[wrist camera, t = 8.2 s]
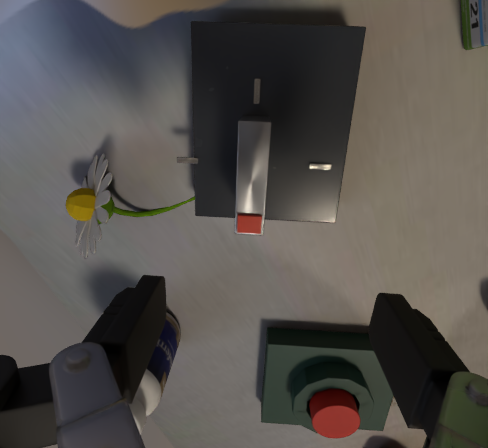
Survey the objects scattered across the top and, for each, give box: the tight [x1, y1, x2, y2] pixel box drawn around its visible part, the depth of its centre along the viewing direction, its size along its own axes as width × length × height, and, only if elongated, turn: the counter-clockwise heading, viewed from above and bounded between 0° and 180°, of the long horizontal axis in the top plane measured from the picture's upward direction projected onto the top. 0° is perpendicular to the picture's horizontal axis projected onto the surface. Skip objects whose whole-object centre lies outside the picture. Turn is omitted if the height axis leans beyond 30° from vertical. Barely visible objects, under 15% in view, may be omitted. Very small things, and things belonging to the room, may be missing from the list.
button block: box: [261, 328, 393, 433], centre depth 30 cm, size 12×10×4 cm
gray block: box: [235, 115, 271, 235], centre depth 19 cm, size 6×2×5 cm, turn 178°
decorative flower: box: [66, 154, 195, 259], centre depth 23 cm, size 8×6×15 cm
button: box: [309, 388, 360, 438], centre depth 27 cm, size 4×4×2 cm
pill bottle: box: [129, 312, 181, 435], centre depth 26 cm, size 6×6×10 cm
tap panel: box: [177, 21, 366, 223], centre depth 22 cm, size 11×13×3 cm
